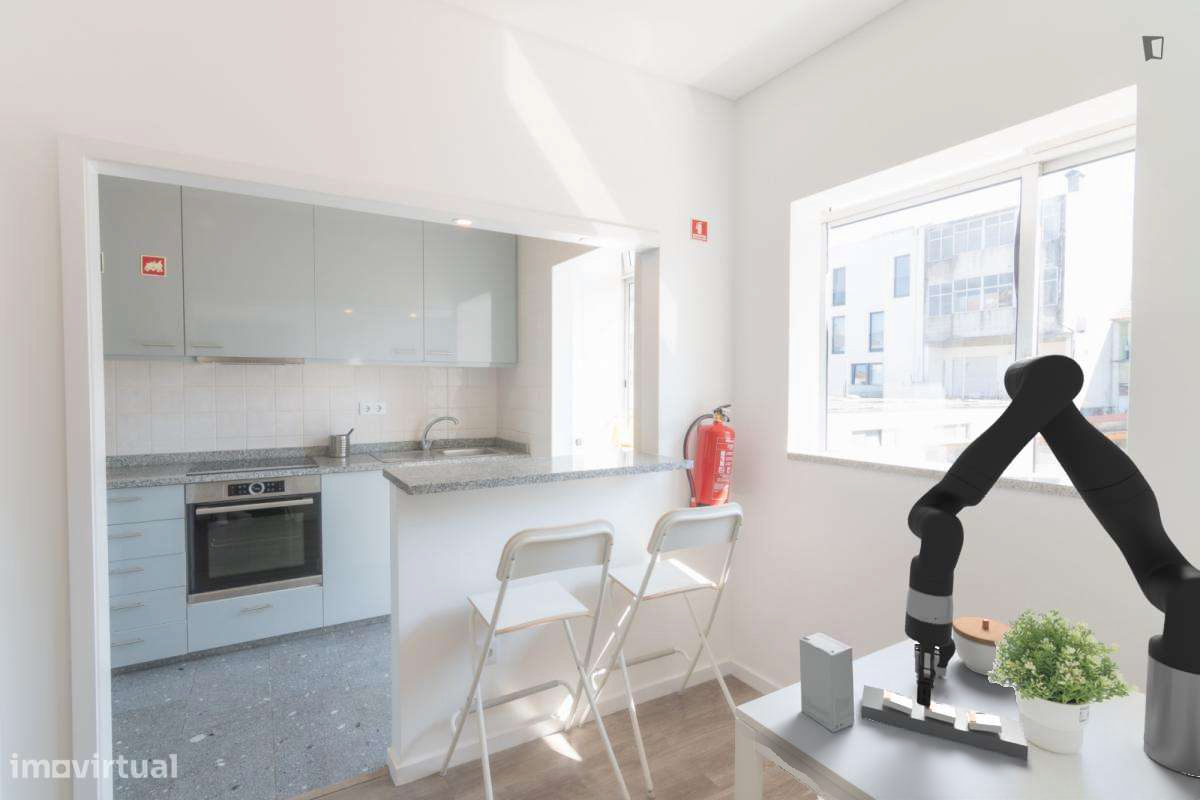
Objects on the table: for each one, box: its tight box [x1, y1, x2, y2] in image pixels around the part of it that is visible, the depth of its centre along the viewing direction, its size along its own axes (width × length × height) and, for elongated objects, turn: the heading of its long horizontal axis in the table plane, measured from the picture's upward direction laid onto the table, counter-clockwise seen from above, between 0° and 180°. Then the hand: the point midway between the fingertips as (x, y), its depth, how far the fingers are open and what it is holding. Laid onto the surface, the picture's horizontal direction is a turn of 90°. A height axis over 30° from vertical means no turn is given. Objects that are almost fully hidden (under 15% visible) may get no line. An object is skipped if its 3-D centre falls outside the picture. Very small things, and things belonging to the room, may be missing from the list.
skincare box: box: [799, 632, 855, 733], centre depth 111 cm, size 8×6×15 cm
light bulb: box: [936, 637, 956, 679], centre depth 125 cm, size 6×6×10 cm
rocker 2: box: [967, 713, 1002, 733], centre depth 103 cm, size 5×3×1 cm
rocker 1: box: [883, 689, 912, 714], centre depth 110 cm, size 5×3×1 cm
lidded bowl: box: [952, 616, 1011, 677], centre depth 129 cm, size 13×13×11 cm
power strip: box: [860, 684, 1029, 761], centre depth 108 cm, size 26×8×3 cm, turn 62°
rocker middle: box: [924, 702, 956, 724], centre depth 107 cm, size 5×3×1 cm
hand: (923, 703), depth 108 cm, fingers closed
